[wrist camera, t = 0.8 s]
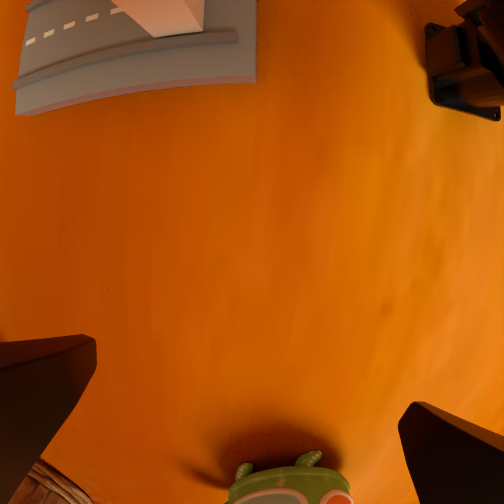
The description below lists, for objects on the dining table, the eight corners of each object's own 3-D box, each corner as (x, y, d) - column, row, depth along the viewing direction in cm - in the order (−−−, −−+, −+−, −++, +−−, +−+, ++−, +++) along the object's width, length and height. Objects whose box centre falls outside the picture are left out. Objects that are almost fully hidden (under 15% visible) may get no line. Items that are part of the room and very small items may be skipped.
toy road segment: (257, -54, 14) (255, -73, 11) (256, 83, 17) (254, 72, 15) (48, -6, 15) (32, -15, 12) (31, 116, 18) (10, 115, 16)
